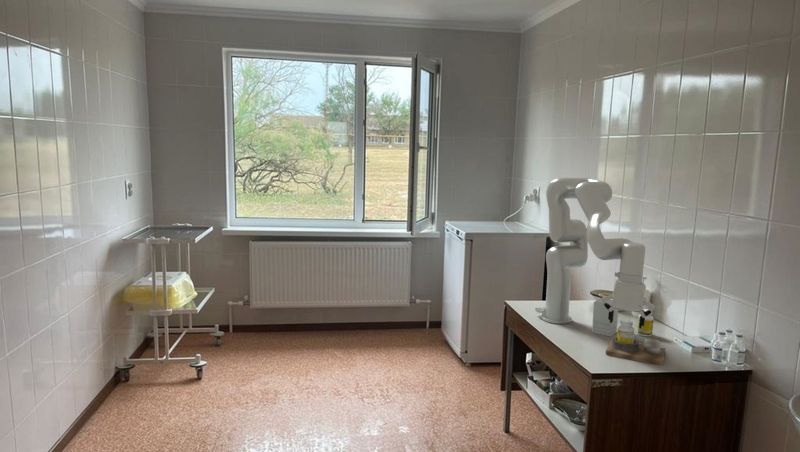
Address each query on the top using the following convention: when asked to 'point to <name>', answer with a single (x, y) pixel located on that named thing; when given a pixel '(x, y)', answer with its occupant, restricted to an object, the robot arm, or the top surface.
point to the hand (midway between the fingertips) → (625, 324)
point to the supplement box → (604, 319)
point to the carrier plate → (638, 351)
